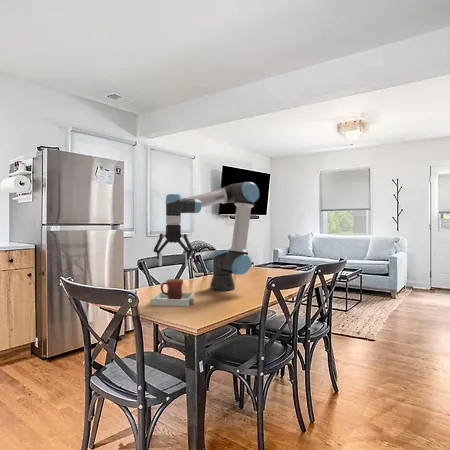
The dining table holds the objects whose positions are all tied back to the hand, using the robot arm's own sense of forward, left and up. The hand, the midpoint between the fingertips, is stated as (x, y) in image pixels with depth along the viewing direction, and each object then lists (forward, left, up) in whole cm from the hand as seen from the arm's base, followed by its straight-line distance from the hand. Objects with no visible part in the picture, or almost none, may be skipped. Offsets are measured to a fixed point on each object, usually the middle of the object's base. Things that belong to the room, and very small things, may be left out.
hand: (173, 265), depth 182 cm
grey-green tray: (0, 0, -18) cm, 18 cm away
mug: (+1, 0, -18) cm, 18 cm away
